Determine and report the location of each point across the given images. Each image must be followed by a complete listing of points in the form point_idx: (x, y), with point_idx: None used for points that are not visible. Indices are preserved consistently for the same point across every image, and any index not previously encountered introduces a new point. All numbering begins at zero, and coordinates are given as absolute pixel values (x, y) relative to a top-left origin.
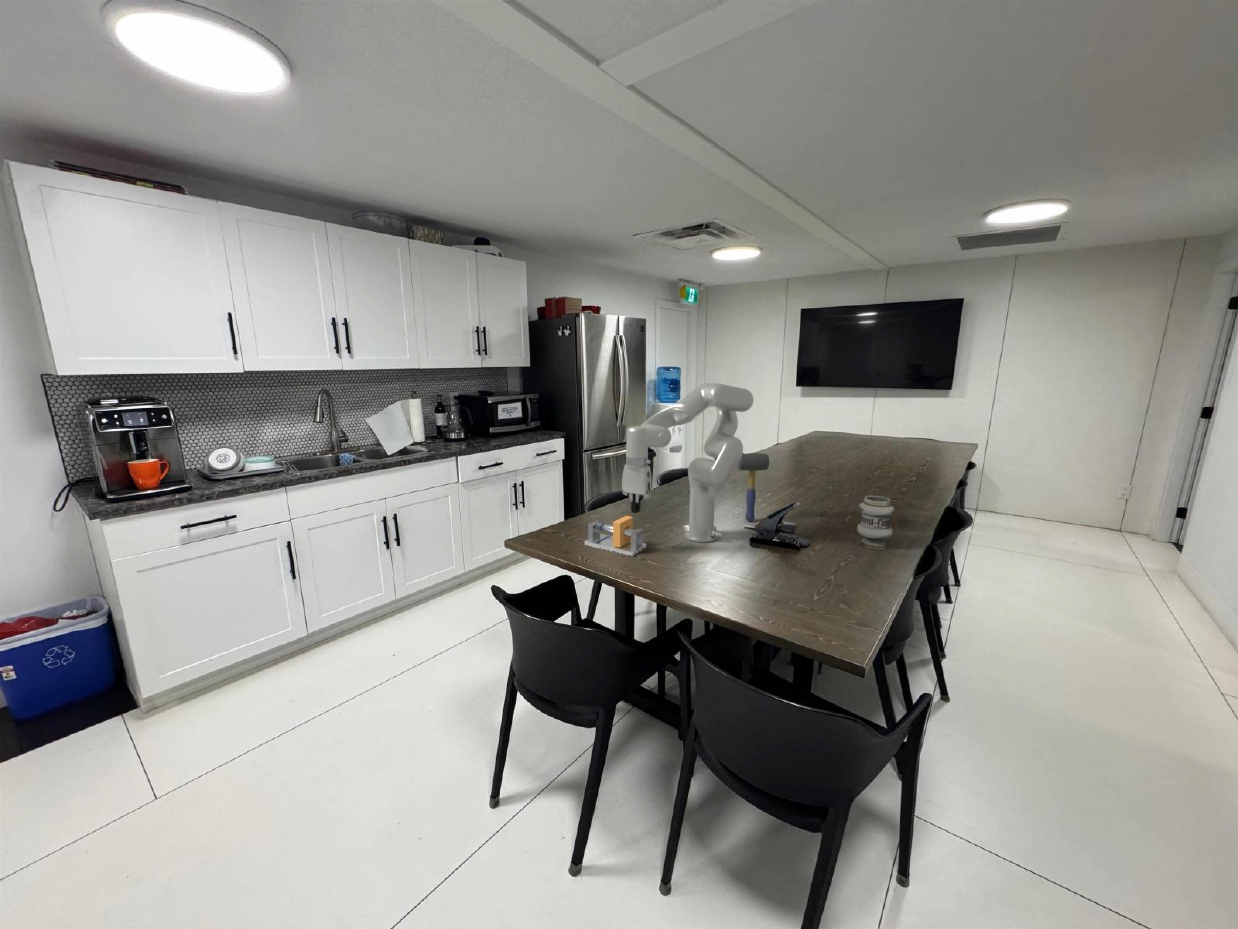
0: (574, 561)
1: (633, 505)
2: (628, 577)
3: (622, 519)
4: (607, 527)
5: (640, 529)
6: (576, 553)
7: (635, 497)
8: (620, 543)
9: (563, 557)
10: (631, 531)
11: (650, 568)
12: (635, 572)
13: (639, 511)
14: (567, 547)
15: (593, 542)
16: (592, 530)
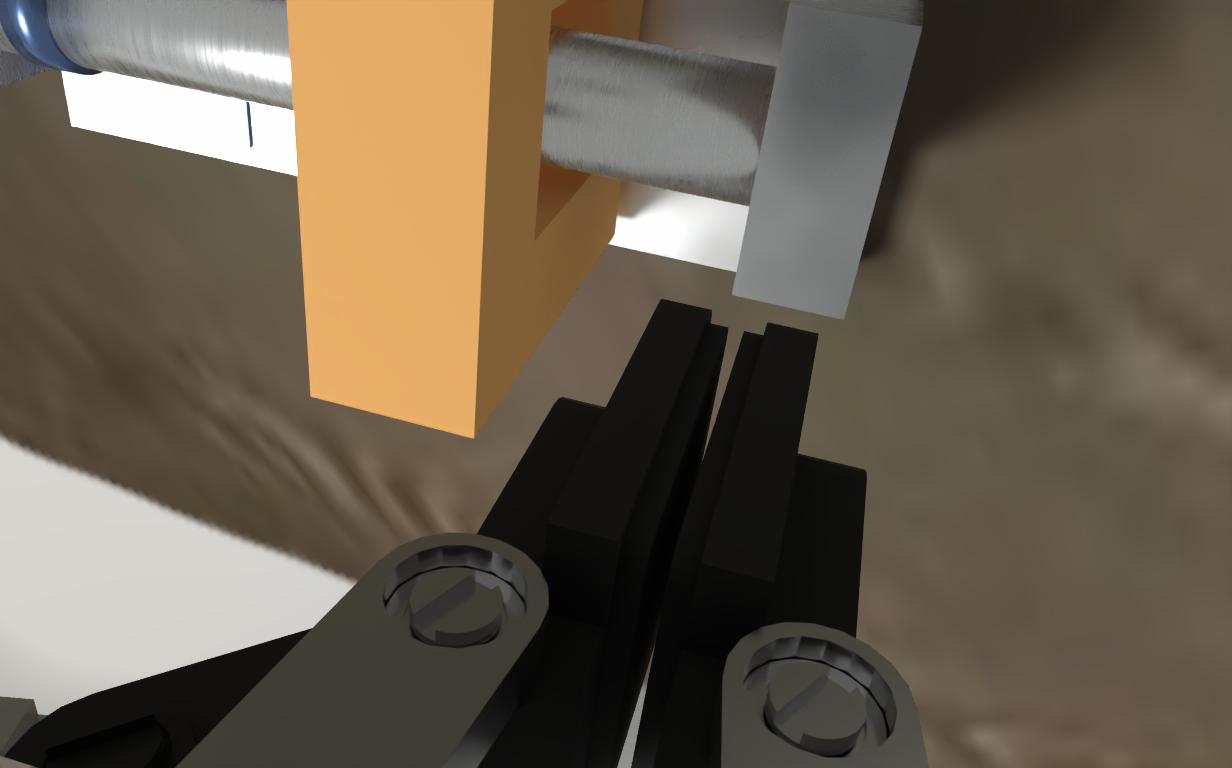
0: (334, 548)
1: (629, 720)
2: (976, 757)
3: (375, 162)
4: (180, 86)
5: (863, 44)
6: (218, 376)
7: (492, 731)
8: (600, 242)
9: (193, 492)
10: (701, 187)
11: (1187, 549)
12: (1020, 661)
13: (816, 341)
14: (28, 252)
15: (189, 129)
16: (6, 83)
